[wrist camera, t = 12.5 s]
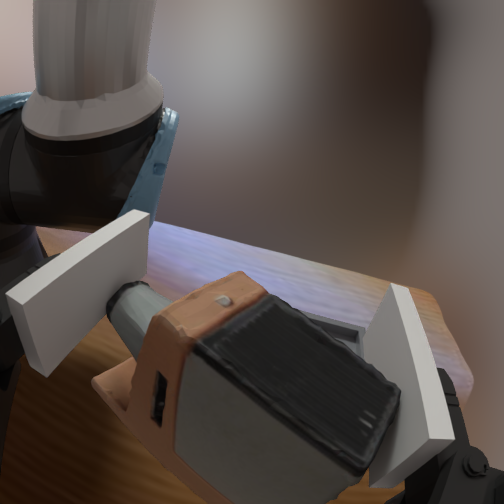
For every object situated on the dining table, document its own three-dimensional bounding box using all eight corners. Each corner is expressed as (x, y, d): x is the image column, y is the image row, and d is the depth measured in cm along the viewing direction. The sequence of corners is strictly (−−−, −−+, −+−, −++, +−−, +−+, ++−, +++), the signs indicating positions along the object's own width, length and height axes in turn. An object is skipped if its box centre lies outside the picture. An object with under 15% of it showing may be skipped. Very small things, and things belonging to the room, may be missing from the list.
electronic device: (162, 353, 15) (172, 214, 11) (326, 470, 10) (429, 353, 7) (92, 395, 11) (62, 245, 8) (268, 547, 7) (383, 491, 3)
